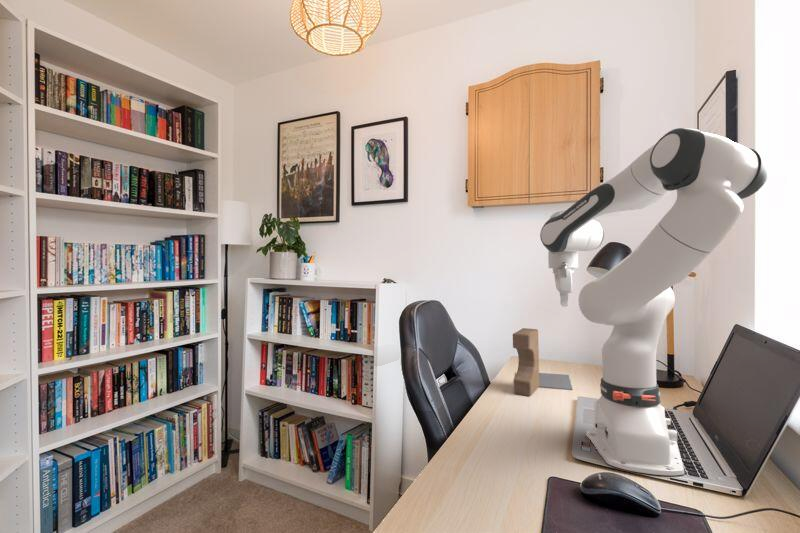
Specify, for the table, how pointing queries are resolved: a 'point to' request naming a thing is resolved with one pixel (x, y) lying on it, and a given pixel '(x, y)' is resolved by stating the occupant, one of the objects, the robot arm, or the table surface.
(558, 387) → the felt pad
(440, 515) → the table surface
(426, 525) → the table surface
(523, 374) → the decorative block
